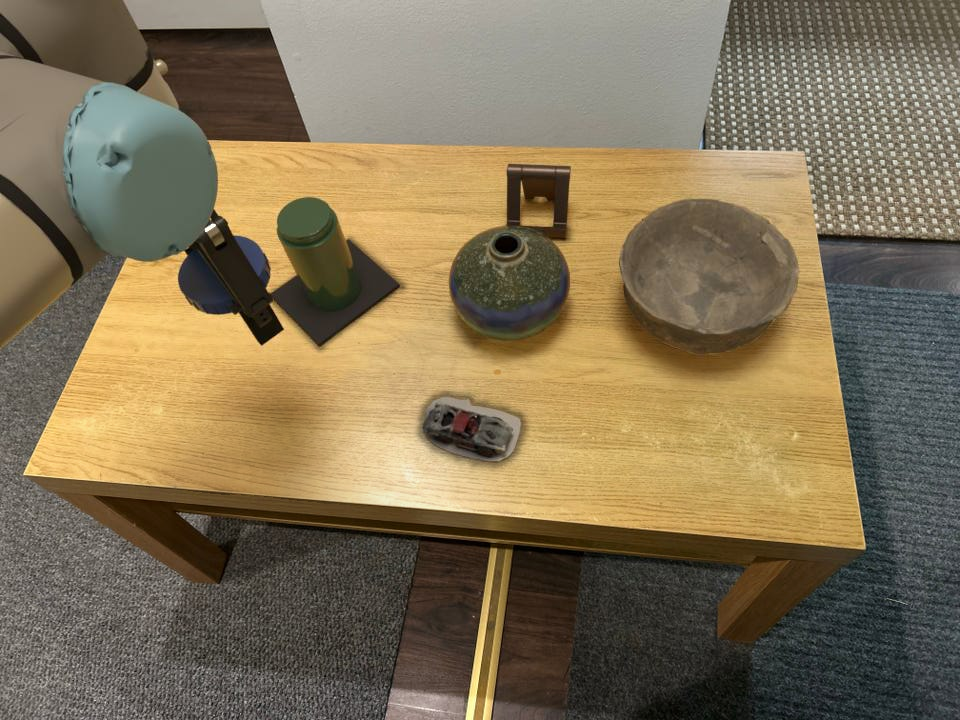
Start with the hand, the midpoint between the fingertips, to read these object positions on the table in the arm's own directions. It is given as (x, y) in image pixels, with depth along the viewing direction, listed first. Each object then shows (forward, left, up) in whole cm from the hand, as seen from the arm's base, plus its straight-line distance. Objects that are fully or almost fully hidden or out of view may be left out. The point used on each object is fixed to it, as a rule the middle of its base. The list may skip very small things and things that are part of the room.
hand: (247, 310), depth 69 cm
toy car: (+13, -17, -21) cm, 30 cm away
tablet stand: (+42, +1, -21) cm, 47 cm away
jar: (+13, +12, -20) cm, 27 cm away
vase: (+28, -8, -21) cm, 36 cm away
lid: (0, 0, +6) cm, 6 cm away
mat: (+13, +12, -21) cm, 28 cm away
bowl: (+45, -25, -21) cm, 55 cm away
